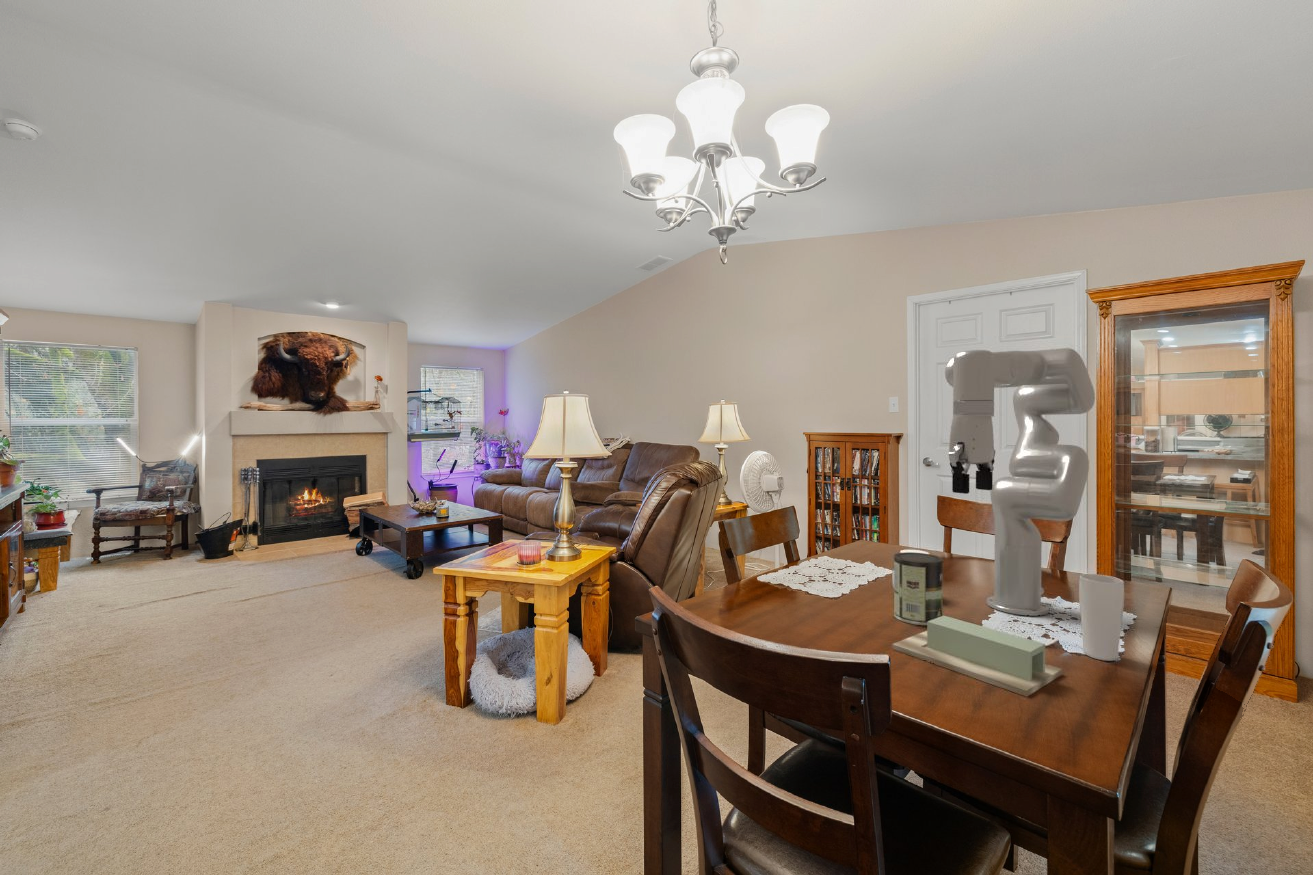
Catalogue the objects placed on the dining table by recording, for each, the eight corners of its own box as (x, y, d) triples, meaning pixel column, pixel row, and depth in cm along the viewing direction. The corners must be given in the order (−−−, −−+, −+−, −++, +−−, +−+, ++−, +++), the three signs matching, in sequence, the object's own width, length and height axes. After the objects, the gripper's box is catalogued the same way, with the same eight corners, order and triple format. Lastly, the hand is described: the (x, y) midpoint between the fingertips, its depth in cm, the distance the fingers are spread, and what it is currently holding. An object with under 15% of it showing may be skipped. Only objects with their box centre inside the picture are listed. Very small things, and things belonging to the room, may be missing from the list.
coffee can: (935, 612, 133) (935, 552, 133) (948, 627, 123) (949, 563, 123) (889, 609, 136) (889, 551, 135) (898, 624, 125) (899, 561, 125)
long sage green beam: (943, 640, 114) (943, 615, 113) (1045, 672, 99) (1045, 643, 99) (927, 646, 110) (927, 621, 110) (1029, 681, 95) (1030, 651, 95)
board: (930, 633, 120) (930, 614, 120) (1061, 674, 100) (1062, 652, 100) (892, 648, 112) (892, 628, 112) (1026, 696, 92) (1026, 672, 92)
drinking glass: (1113, 651, 110) (1115, 575, 109) (1130, 665, 103) (1131, 584, 103) (1072, 647, 112) (1073, 572, 112) (1086, 660, 106) (1087, 581, 105)
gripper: (975, 410, 126) (974, 486, 127) (933, 410, 117) (933, 492, 117) (1011, 410, 120) (1010, 490, 121) (970, 409, 110) (970, 496, 111)
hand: (972, 491), depth 119 cm, fingers open, 9 cm apart
